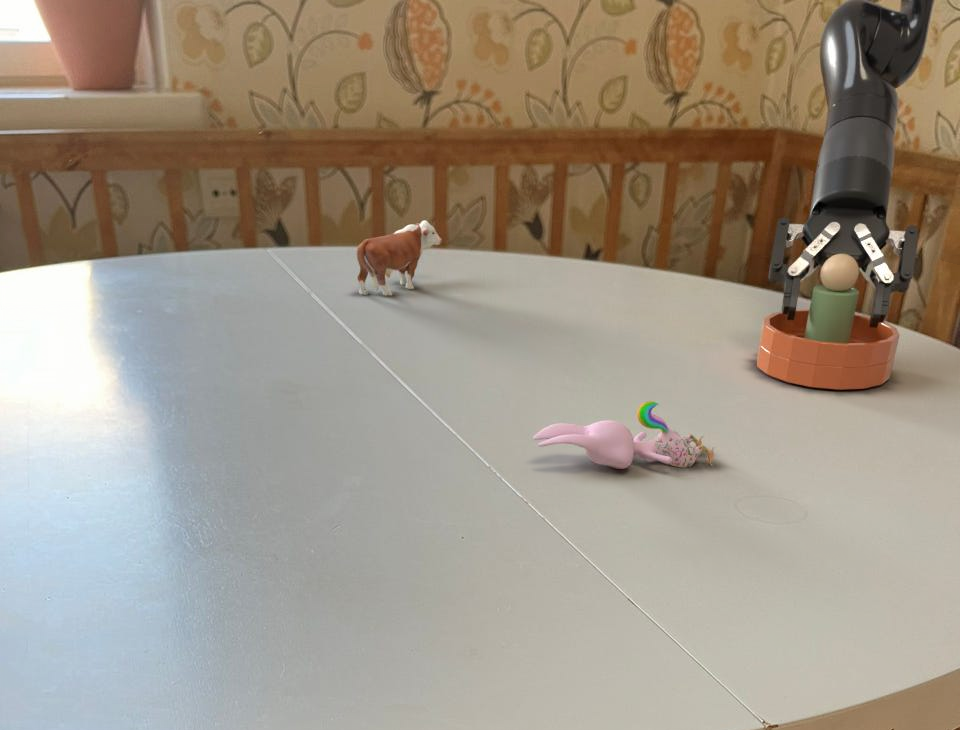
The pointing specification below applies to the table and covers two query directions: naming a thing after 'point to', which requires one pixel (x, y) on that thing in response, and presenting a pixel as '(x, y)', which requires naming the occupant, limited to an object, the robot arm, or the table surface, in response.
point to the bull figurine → (394, 255)
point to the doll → (834, 301)
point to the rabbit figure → (627, 441)
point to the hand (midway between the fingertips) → (832, 319)
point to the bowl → (827, 353)
